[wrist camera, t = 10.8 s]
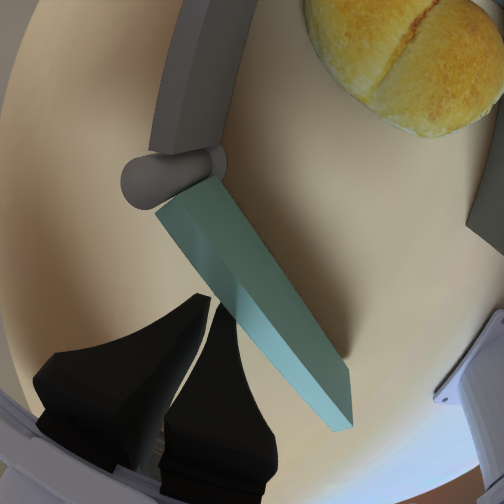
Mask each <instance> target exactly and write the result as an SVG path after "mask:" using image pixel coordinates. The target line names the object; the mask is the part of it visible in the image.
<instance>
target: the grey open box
mask: <svg viewBox="0 0 504 504" xmlns="http://www.w3.org/2000/svg"><path fill="white" fill-rule="evenodd" d="M493 1H494V2H496V3H497V4H498V5H500V6H501V7H502V8H504V0H493ZM256 3H257V0H184V1H183V4H182V7H181V10H180V13H179V17H178V20H177V23H176V26H175V30H174V33H173V37H172V40H171V44H170V48H169V51H168V55H167V59H166V63H165V67H164V71H163V75H162V80H161V84H160V89H159V93H158V98H157V103H156V108H155V113H154V119H153V124H152V130H151V136H150V142H149V149H148V150H149V151H155V152H160V153H165V154H171V155H174V154H178V153H183V152H187V151H192V150H197V149H202V148H204V149H205V150H206V151H208V153H209V154H210V156H211V158H212V162H213V168H212V171H211V174H210V175H209V176H208V178H207V179H209V178H210V177H212V176H214V175H216V176H217V177H218V178H219V180H220V181H222V179H223V178H224V176H225V174H226V170H227V156H226V153H225V150H224V149H223V147H222V146H221V140H222V136H223V131H224V126H225V122H226V118H227V113H228V109H229V105H230V100H231V96H232V92H233V88H234V84H235V80H236V76H237V72H238V68H239V64H240V60H241V56H242V53H243V49H244V45H245V42H246V38H247V34H248V31H249V27H250V24H251V20H252V17H253V13H254V10H255V6H256ZM207 179H205V180H207ZM205 180H204V181H205ZM202 182H203V181H202ZM200 183H201V182H200ZM198 184H199V183H198ZM196 185H197V184H196ZM194 186H195V185H194ZM192 187H193V186H192ZM192 187H190V188H192ZM190 188H189V189H190ZM187 190H188V189H187ZM466 226H467V227H468V228H469V229H471V230H472V231H473V232H475V233H476V234H477V235H479V236H480V237H481V238H482V239H484V240H485V241H486V242H487V243H489V244H490V245H491V246H492V247H494V248H495V249H496V250H497V251H498V252H500V253H501V254H502V255H503V256H504V93H503V94H502V95H501V97H500V104H499V110H498V116H497V121H496V126H495V131H494V135H493V140H492V144H491V148H490V152H489V156H488V160H487V164H486V167H485V171H484V174H483V177H482V181H481V184H480V187H479V190H478V193H477V196H476V199H475V202H474V205H473V207H472V210H471V213H470V216H469V218H468V221H467V223H466Z"/></svg>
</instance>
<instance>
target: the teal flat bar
mask: <svg viewBox="0 0 504 504" xmlns="http://www.w3.org/2000/svg"><path fill="white" fill-rule="evenodd" d="M212 168H213V162H212V158H211V156H210V154H209V153H208V151H206V150H205V149H204V148H202V149H197V150H192V151H187V152H183V153H178V154H174V155H171V154H165V153H155V154H151V155H146V156H142V157H138V158H135V159H132V160H131V161H130V162H128V163H127V164H126V166H125V167H124V169H123V171H122V174H121V189H122V192H123V195H124V197H125V198H126V200H127V201H128V202H129V203H130V204H131V205H132V206H134V207H135V208H137V209H141V210H149V209H152V208H154V207H156V206H158V205H160V204H161V203H163V202H165V201H167V200H168V199H170V198H172V197H174V196H176V195H177V196H176V197H174V198H173V199H172V200H170V201H169V202H168V203H167V204H165V205H164V206H163V207H162V208H160V209H159V210H158V211H157V212H156V213H154V214H155V215H156V216H157V218H158V219H159V221H160V222H161V223H162V225H163V226H164V227H165V229H166V230H167V232H168V233H169V234H170V236H171V237H172V238H173V240H174V241H175V243H176V244H177V245H178V247H179V248H180V249H181V251H182V252H183V253H184V255H185V256H186V257H187V259H188V260H189V261H190V263H191V264H192V265H193V267H194V268H195V269H196V271H197V272H198V273H199V274H200V276H201V277H202V278H203V280H204V281H205V282H206V284H207V285H208V286H209V287H210V289H211V290H212V291H213V293H214V294H215V295H216V296H217V298H218V299H219V300H220V301H221V303H222V304H223V305H224V306H225V308H226V309H227V310H228V311H229V313H230V314H231V315H232V316H233V318H234V319H235V320H236V321H237V323H238V324H239V325H240V326H241V327H242V329H243V330H244V331H245V332H246V334H247V335H248V336H249V337H250V338H251V340H252V341H253V342H254V343H255V344H256V346H257V347H258V348H259V349H260V350H261V352H262V353H263V354H264V355H265V356H266V357H267V359H268V360H269V361H270V362H271V363H272V364H273V366H274V367H275V368H276V369H277V370H278V371H279V373H280V374H281V375H282V376H283V377H284V378H285V379H286V381H287V382H288V383H289V384H290V385H291V386H292V387H293V388H294V390H295V391H296V392H297V393H298V394H299V395H300V396H301V397H302V399H303V400H304V401H305V402H306V403H307V404H308V405H309V406H310V407H311V408H312V410H313V411H314V412H315V413H316V414H317V415H318V416H319V417H320V418H321V419H322V420H323V421H324V422H325V424H326V425H327V426H328V427H329V428H330V429H331V430H332V431H333V432H338V431H341V430H344V429H348V428H351V427H353V415H352V400H351V387H350V376H349V369H348V367H347V366H346V364H345V363H344V361H343V360H342V358H341V357H340V355H339V354H338V352H337V351H336V349H335V348H334V346H333V345H332V343H331V342H330V340H329V339H328V337H327V336H326V334H325V333H324V331H323V330H322V328H321V327H320V325H319V324H318V322H317V321H316V319H315V318H314V316H313V315H312V314H311V312H310V311H309V309H308V308H307V306H306V305H305V303H304V302H303V300H302V299H301V297H300V296H299V294H298V293H297V291H296V290H295V288H294V287H293V285H292V284H291V283H290V281H289V280H288V278H287V277H286V275H285V274H284V272H283V271H282V269H281V268H280V266H279V265H278V263H277V262H276V261H275V259H274V258H273V256H272V255H271V253H270V252H269V250H268V249H267V247H266V246H265V245H264V243H263V242H262V240H261V239H260V237H259V236H258V234H257V233H256V231H255V230H254V229H253V227H252V226H251V224H250V223H249V221H248V220H247V219H246V217H245V216H244V214H243V213H242V211H241V210H240V208H239V207H238V206H237V204H236V203H235V201H234V200H233V198H232V197H231V196H230V194H229V193H228V191H227V190H226V188H225V187H224V186H223V184H222V183H221V181H220V180H219V178H218V177H217V176H216V175H214V176H212V177H210V178H209V179H207V178H208V176H209V175H210V174H211V171H212ZM205 179H207V180H205ZM204 180H205V181H204ZM202 181H203V182H202ZM200 182H201V183H200ZM198 183H199V184H198ZM196 184H197V185H196ZM194 185H195V186H194ZM192 186H193V187H192ZM190 187H192V188H190ZM189 188H190V189H189ZM187 189H188V190H187ZM185 190H186V191H185ZM183 191H184V192H183ZM181 192H182V193H181ZM179 193H180V194H179ZM178 194H179V195H178Z"/></svg>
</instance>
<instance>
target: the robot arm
mask: <svg viewBox="0 0 504 504" xmlns="http://www.w3.org/2000/svg"><path fill="white" fill-rule="evenodd" d="M210 301H211V297H209V296H205V295H202V294H199V293H196V294H194V295H193V296H192V297H190V298H189V299H188V300H186V301H185V302H184V303H182V304H181V305H180V306H178V307H177V308H176V309H174V310H173V311H171V312H170V313H168V314H167V315H165V316H164V317H162V318H160V319H159V320H157V321H155V322H153V323H152V324H150V325H148V326H147V327H145V328H143V329H141V330H139V331H137V332H134V333H132V334H130V335H128V336H125V337H123V338H120V339H117V340H114V341H112V342H109V343H106V344H102V345H98V346H95V347H90V348H86V349H81V350H74V351H67V352H59V353H55V354H54V355H53V356H52V357H51V358H50V359H49V360H48V361H47V362H46V363H45V364H44V365H43V367H42V368H41V369H40V370H39V371H38V373H37V374H36V375H35V376H34V377H33V385H34V388H35V391H36V393H37V394H38V396H39V398H40V400H41V402H42V404H43V406H44V408H45V411H44V412H43V413H42V415H41V416H40V417H39V418H37V417H36V416H34V415H33V414H32V413H30V412H29V411H27V410H26V409H25V408H24V407H22V406H21V405H20V404H18V403H17V402H16V401H15V400H13V399H12V398H11V397H10V396H9V395H7V394H6V393H5V392H4V391H3V390H1V389H0V459H1V460H2V461H3V462H5V463H6V464H7V465H8V468H7V469H6V471H5V472H4V474H3V476H2V477H1V479H0V504H158V503H159V504H261V499H262V495H264V493H265V488H266V483H267V482H268V481H269V480H270V479H271V478H272V477H273V476H274V475H275V474H276V472H277V469H278V452H277V445H276V440H275V436H274V434H273V432H272V431H271V429H270V428H269V426H268V425H267V423H266V421H265V419H264V418H263V416H262V414H261V412H260V410H259V408H258V406H257V404H256V402H255V400H254V397H253V395H252V393H251V390H250V388H249V385H248V383H247V380H246V377H245V373H244V370H243V366H242V362H241V358H240V353H239V348H238V340H237V329H236V320H235V319H234V318H233V316H232V315H231V314H230V313H229V311H228V310H227V309H226V308H225V306H224V305H223V304H222V303H221V302H220V304H219V306H218V307H217V309H216V312H215V315H214V318H213V321H212V325H211V328H210V331H209V334H208V338H207V341H206V343H205V346H204V349H203V351H202V353H201V355H200V356H199V358H198V360H197V362H196V364H195V366H194V368H193V370H192V372H191V374H190V375H189V377H188V379H187V381H186V382H185V384H184V386H183V388H182V389H181V391H180V393H179V394H178V396H177V398H176V399H175V401H174V402H173V404H172V405H171V402H172V400H173V398H174V396H175V394H176V392H177V390H178V388H179V386H180V384H181V382H182V381H183V379H184V377H185V375H186V373H187V371H188V370H189V368H190V366H191V364H192V362H193V360H194V358H195V356H196V355H197V352H198V350H199V347H200V345H201V342H202V340H203V337H204V334H205V329H206V323H207V318H208V312H209V307H210ZM433 402H434V403H437V404H452V405H462V407H463V410H464V413H465V416H466V419H467V422H468V425H469V428H470V431H471V435H472V438H473V441H474V445H475V448H476V452H477V456H478V459H479V463H480V467H481V472H482V475H483V480H484V484H485V490H486V492H487V493H486V494H484V495H483V496H481V497H480V498H478V499H477V504H504V310H503V309H498V310H496V311H495V312H494V314H493V315H492V317H491V318H490V320H489V322H488V323H487V325H486V326H485V328H484V330H483V331H482V333H481V334H480V336H479V337H478V339H477V340H476V342H475V343H474V345H473V346H472V347H471V349H470V350H469V352H468V353H467V354H466V356H465V357H464V359H463V360H462V361H461V363H460V364H459V365H458V367H457V368H456V369H455V370H454V372H453V373H452V374H451V376H450V377H449V378H448V379H447V380H446V382H445V383H444V384H443V385H442V387H441V388H440V389H439V390H438V391H437V392H436V394H435V395H434V396H433ZM170 405H171V407H170ZM169 407H170V408H169ZM163 422H164V440H165V450H164V452H163V454H162V457H161V459H160V462H159V464H158V468H160V474H161V482H159V481H156V480H153V479H151V478H148V477H146V476H145V473H146V470H147V467H148V464H149V461H150V458H151V455H152V452H153V449H154V447H155V444H156V441H157V438H158V435H159V433H160V430H161V428H162V425H163ZM413 504H416V503H413Z"/></svg>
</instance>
